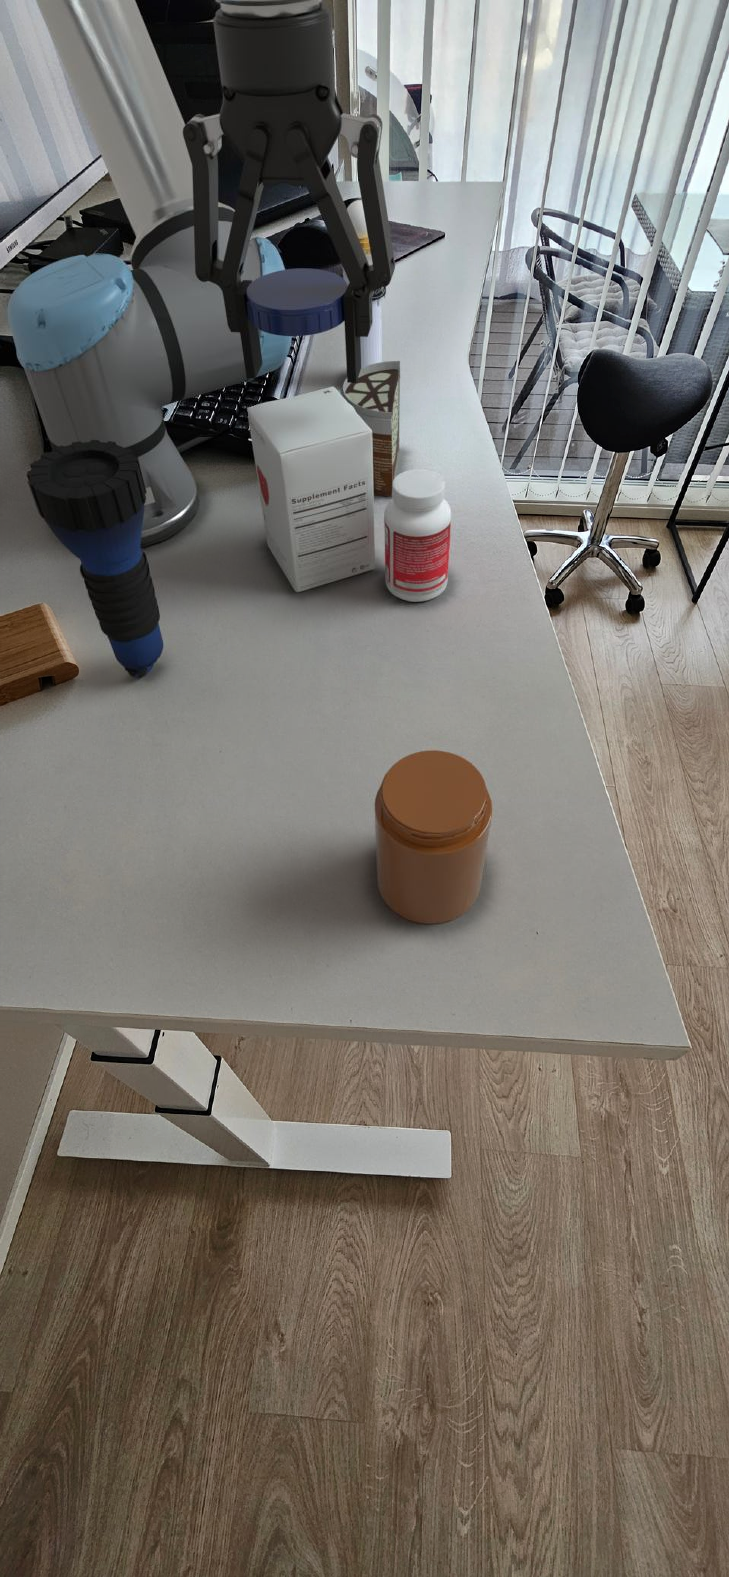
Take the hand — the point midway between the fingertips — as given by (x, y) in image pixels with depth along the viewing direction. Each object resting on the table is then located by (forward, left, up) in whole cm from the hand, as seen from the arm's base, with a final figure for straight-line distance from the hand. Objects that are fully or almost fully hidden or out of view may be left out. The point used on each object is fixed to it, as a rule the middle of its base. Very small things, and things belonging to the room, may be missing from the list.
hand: (304, 372), depth 69 cm
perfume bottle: (-38, +2, -19) cm, 43 cm away
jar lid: (0, 0, +6) cm, 6 cm away
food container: (-16, +4, -19) cm, 25 cm away
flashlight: (+17, -14, -19) cm, 29 cm away
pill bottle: (+4, +10, -19) cm, 22 cm away
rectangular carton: (0, 0, -19) cm, 19 cm away
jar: (+38, +12, -19) cm, 44 cm away
